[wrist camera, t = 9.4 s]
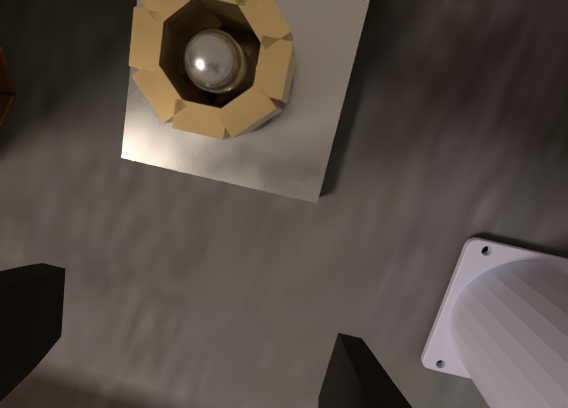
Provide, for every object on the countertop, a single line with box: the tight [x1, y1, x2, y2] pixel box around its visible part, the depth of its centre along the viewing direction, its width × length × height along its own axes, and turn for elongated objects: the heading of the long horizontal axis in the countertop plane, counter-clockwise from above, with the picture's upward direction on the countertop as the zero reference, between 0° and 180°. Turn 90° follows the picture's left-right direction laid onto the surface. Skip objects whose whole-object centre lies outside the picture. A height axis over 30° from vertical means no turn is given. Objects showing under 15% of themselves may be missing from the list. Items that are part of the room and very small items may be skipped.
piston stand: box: [121, 0, 370, 203], centre depth 14 cm, size 10×10×6 cm
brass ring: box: [129, 0, 296, 140], centre depth 13 cm, size 5×5×4 cm
